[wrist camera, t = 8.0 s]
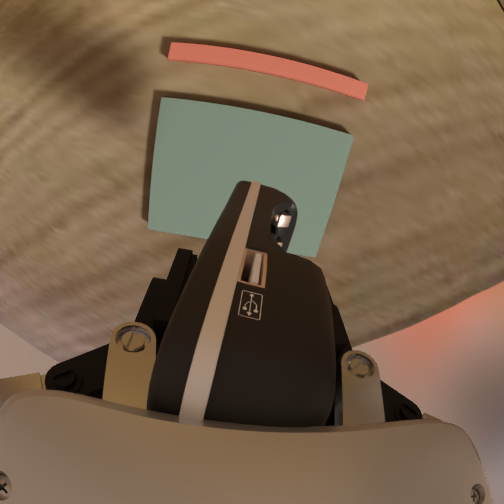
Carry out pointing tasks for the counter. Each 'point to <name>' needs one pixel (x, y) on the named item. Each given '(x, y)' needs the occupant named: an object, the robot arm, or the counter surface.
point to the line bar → (268, 67)
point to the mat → (241, 166)
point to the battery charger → (249, 325)
